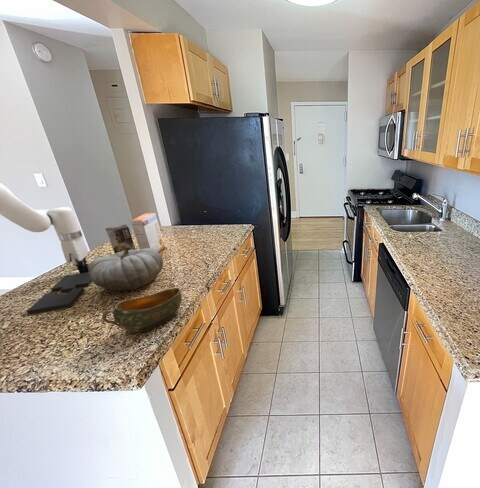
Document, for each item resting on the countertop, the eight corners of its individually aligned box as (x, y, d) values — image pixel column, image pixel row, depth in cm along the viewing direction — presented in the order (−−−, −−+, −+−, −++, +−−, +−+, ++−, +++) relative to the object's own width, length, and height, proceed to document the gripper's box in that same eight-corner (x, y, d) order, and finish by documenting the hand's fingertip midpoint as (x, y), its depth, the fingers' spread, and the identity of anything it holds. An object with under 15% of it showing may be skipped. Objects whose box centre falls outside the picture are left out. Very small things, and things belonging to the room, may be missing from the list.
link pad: (49, 294, 105) (47, 291, 104) (66, 278, 117) (65, 275, 116) (86, 288, 109) (85, 285, 108) (99, 273, 121) (98, 270, 120)
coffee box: (135, 251, 145) (126, 224, 139) (137, 255, 140) (129, 226, 134) (114, 256, 139) (105, 227, 133) (116, 260, 134) (106, 230, 128)
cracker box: (154, 248, 149) (144, 212, 141) (165, 247, 150) (156, 212, 142) (141, 258, 136) (129, 220, 128) (153, 257, 137) (142, 219, 129)
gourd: (150, 292, 101) (132, 250, 96) (83, 307, 99) (61, 266, 94) (176, 268, 125) (163, 234, 120) (122, 280, 123) (107, 246, 118)
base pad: (28, 314, 93) (26, 310, 92) (47, 296, 103) (45, 293, 103) (70, 306, 97) (69, 303, 96) (84, 290, 107) (83, 287, 107)
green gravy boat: (122, 317, 91) (113, 292, 87) (185, 305, 98) (180, 281, 94) (109, 342, 80) (98, 315, 76) (181, 326, 86) (174, 301, 83)
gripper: (67, 231, 119) (81, 267, 126) (50, 242, 106) (67, 281, 113) (87, 229, 122) (100, 264, 129) (73, 240, 109) (88, 278, 116)
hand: (85, 272), depth 121 cm, fingers closed
